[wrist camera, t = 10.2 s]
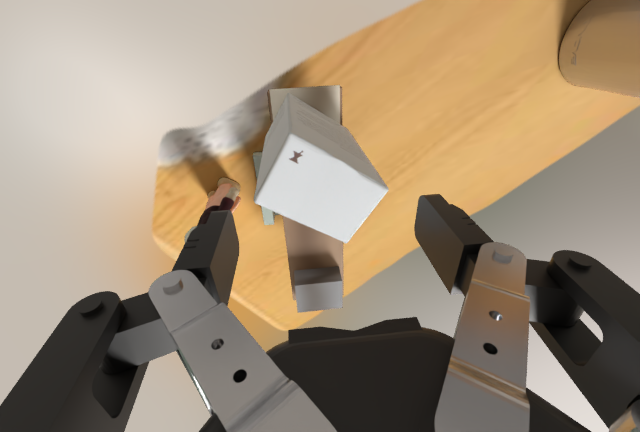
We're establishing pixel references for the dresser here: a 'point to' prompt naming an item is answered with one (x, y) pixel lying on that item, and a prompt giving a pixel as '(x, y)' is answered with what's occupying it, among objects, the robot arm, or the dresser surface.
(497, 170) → the dresser surface
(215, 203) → the grandmother figurine
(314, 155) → the skincare box
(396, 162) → the dresser surface
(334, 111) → the beam
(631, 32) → the robot arm
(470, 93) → the dresser surface
